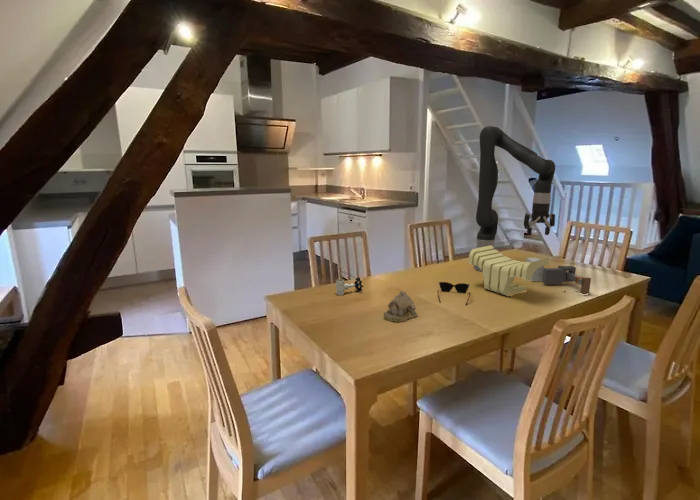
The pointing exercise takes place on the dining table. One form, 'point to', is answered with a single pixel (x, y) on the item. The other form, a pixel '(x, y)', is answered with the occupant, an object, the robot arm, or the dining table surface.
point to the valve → (347, 286)
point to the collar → (557, 275)
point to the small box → (539, 272)
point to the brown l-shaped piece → (580, 281)
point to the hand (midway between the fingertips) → (537, 235)
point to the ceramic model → (400, 308)
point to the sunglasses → (459, 287)
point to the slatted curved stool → (502, 270)
